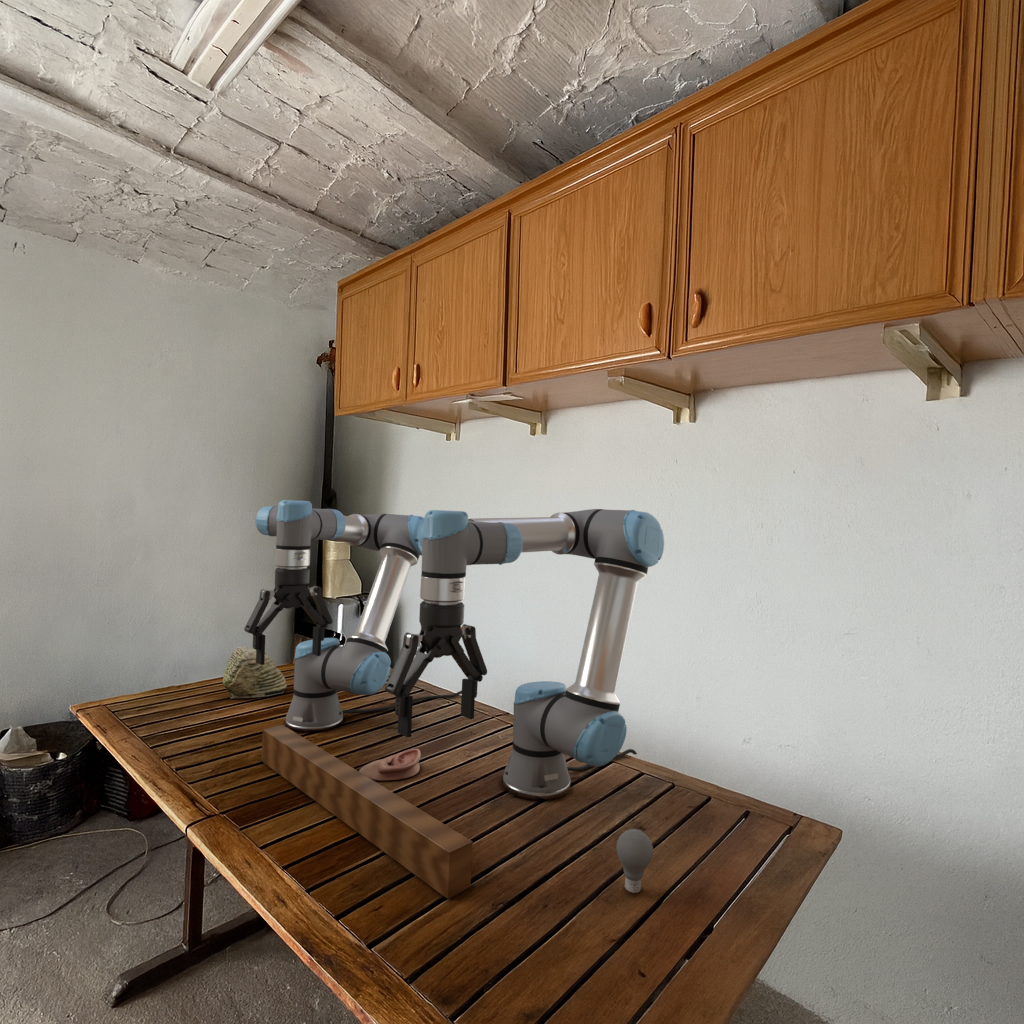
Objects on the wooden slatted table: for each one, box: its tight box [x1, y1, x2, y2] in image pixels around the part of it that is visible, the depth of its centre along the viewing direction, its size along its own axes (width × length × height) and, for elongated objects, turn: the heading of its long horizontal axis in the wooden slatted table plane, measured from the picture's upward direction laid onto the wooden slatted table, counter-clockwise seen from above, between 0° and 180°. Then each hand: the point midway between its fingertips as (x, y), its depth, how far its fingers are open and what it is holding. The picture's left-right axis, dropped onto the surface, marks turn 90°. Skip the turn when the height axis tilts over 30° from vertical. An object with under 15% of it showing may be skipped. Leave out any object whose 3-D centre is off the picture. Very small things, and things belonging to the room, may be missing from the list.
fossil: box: [222, 646, 288, 699], centre depth 198 cm, size 9×18×15 cm, turn 132°
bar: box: [261, 724, 474, 900], centre depth 127 cm, size 69×5×8 cm, turn 45°
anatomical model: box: [358, 748, 422, 782], centre depth 147 cm, size 13×4×12 cm
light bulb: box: [615, 828, 654, 894], centre depth 106 cm, size 6×6×10 cm
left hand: (289, 659), depth 146 cm, fingers open, 13 cm apart
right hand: (437, 725), depth 108 cm, fingers open, 13 cm apart
